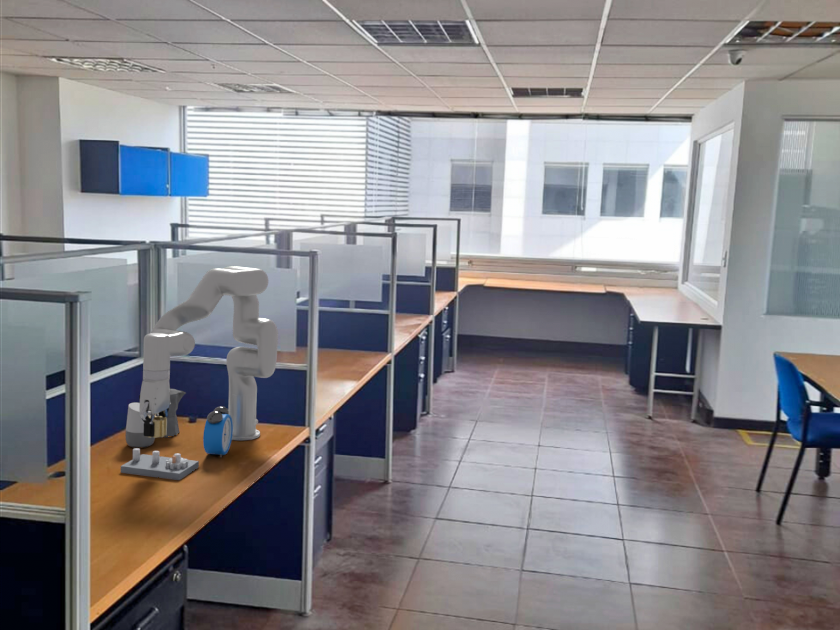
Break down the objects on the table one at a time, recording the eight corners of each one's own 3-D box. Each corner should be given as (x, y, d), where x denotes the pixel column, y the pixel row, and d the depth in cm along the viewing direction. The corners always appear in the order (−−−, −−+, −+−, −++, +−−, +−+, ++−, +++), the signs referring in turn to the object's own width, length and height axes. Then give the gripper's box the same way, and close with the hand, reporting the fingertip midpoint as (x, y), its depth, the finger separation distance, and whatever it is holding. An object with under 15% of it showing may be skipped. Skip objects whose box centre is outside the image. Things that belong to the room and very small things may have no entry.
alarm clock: (221, 460, 248) (221, 414, 246) (201, 459, 249) (202, 413, 247) (232, 448, 261) (233, 404, 259) (214, 447, 262) (215, 403, 260)
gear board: (142, 460, 245) (142, 443, 244) (198, 467, 241) (198, 450, 241) (120, 472, 233) (120, 454, 232) (179, 480, 230) (179, 462, 229)
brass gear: (151, 430, 239) (151, 414, 239) (170, 433, 238) (170, 417, 238) (139, 436, 233) (140, 419, 233) (159, 438, 232) (159, 422, 231)
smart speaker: (149, 450, 254) (149, 408, 252) (120, 449, 254) (121, 407, 253) (159, 442, 264) (159, 401, 262) (132, 440, 264) (132, 399, 262)
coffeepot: (184, 429, 280) (185, 379, 277) (186, 436, 271) (186, 386, 269) (138, 431, 274) (139, 380, 272) (138, 439, 266) (139, 387, 263)
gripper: (160, 368, 243) (158, 424, 245) (128, 378, 226) (127, 439, 228) (182, 370, 241) (180, 427, 243) (152, 381, 224) (151, 442, 226)
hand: (155, 432), depth 236 cm, fingers closed on brass gear, 6 cm apart
